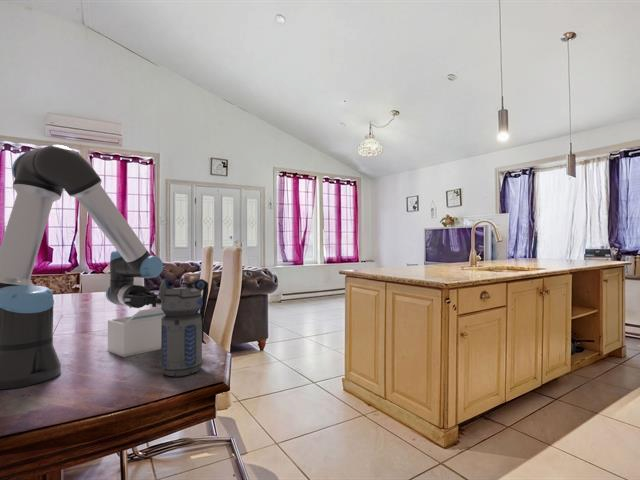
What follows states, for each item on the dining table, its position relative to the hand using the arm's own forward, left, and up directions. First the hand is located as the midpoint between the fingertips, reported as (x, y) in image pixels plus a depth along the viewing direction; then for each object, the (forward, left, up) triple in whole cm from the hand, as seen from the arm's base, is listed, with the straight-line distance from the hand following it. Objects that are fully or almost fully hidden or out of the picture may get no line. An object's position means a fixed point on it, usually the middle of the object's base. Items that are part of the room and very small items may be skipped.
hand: (169, 301), depth 108 cm
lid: (+5, +3, -4) cm, 7 cm away
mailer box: (+15, +10, -17) cm, 25 cm away
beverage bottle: (-14, -5, -17) cm, 22 cm away
